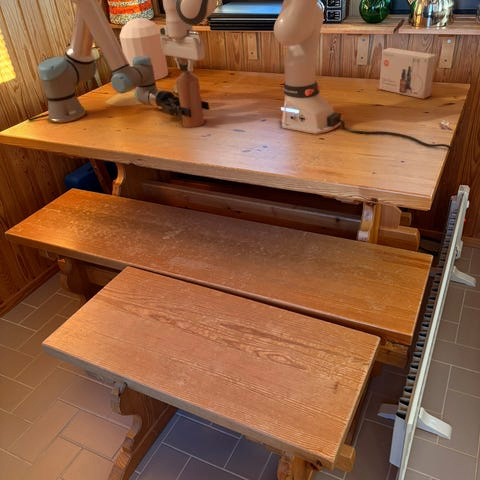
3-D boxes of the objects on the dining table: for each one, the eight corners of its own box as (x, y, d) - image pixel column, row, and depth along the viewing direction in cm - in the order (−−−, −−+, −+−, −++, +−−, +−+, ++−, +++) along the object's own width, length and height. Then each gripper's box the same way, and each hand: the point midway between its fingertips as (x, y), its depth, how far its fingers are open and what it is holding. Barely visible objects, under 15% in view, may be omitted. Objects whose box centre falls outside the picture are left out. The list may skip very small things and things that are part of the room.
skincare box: (377, 89, 194) (381, 50, 185) (385, 86, 197) (389, 47, 188) (423, 99, 180) (429, 56, 171) (430, 95, 183) (437, 53, 174)
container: (160, 81, 233) (149, 21, 217) (121, 82, 238) (108, 23, 222) (174, 69, 249) (165, 13, 233) (138, 70, 254) (126, 15, 238)
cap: (185, 71, 166) (184, 65, 165) (178, 70, 169) (177, 64, 167) (193, 68, 169) (192, 62, 168) (185, 67, 171) (184, 61, 170)
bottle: (191, 118, 185) (182, 61, 173) (208, 120, 181) (200, 62, 169) (178, 125, 179) (169, 67, 167) (196, 128, 175) (187, 69, 163)
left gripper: (184, 101, 196) (220, 111, 182) (143, 116, 184) (179, 128, 170) (181, 83, 191) (218, 92, 177) (139, 97, 180) (176, 108, 166)
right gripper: (206, 29, 156) (211, 71, 164) (169, 25, 169) (175, 64, 177) (192, 33, 153) (198, 76, 161) (155, 29, 165) (162, 68, 173)
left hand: (199, 109), depth 174 cm, fingers closed on bottle, 8 cm apart
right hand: (185, 70), depth 169 cm, fingers closed on cap, 4 cm apart
